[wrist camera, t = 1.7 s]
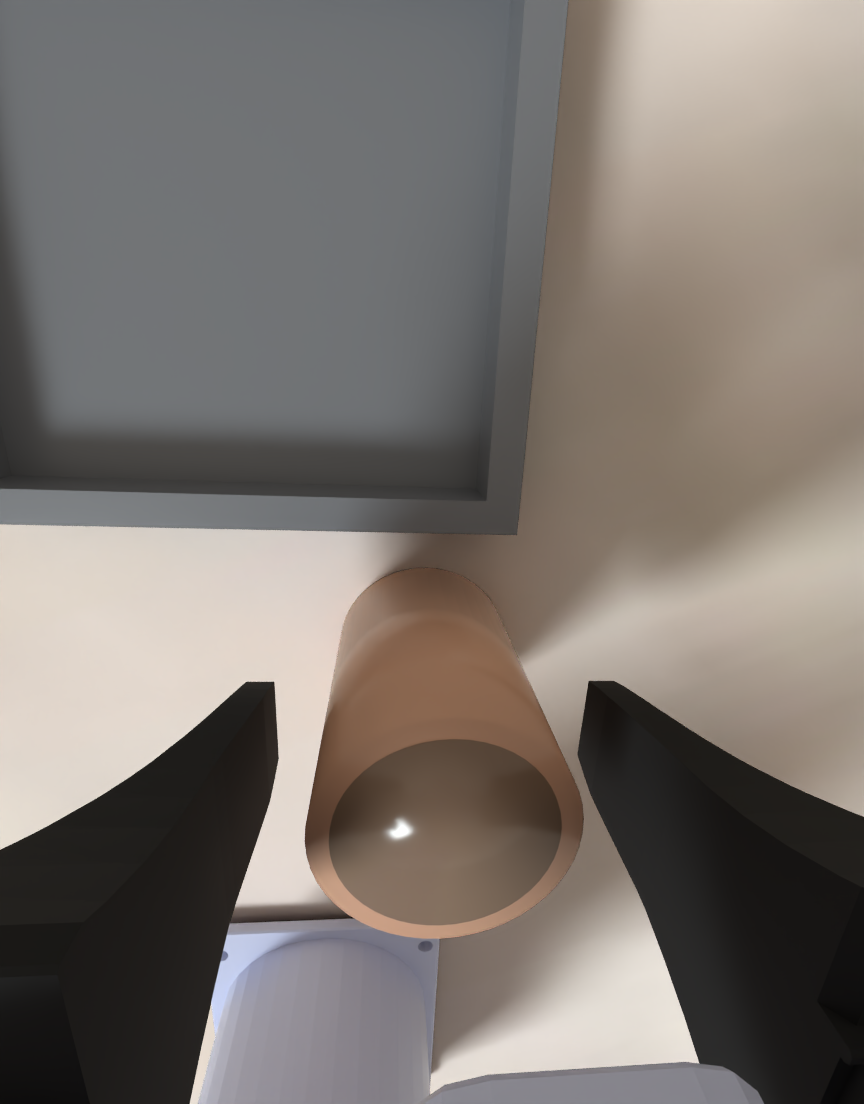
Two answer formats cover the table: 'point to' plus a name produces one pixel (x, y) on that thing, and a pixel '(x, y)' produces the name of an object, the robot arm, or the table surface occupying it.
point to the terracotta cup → (436, 767)
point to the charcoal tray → (272, 260)
